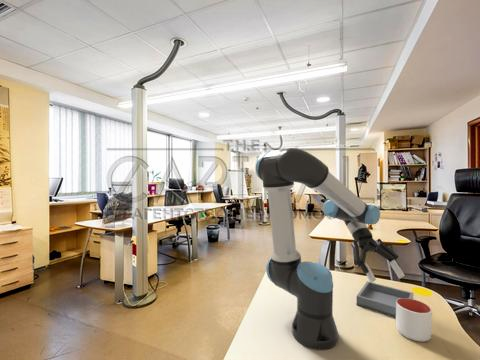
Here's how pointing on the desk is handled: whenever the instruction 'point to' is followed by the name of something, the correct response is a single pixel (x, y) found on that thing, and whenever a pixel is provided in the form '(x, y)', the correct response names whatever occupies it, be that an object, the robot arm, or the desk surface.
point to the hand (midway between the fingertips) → (387, 279)
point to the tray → (381, 298)
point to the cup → (413, 319)
